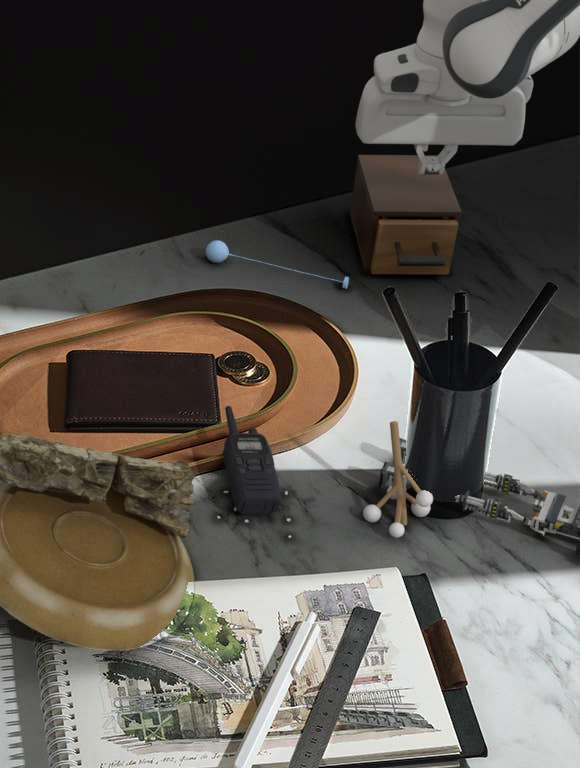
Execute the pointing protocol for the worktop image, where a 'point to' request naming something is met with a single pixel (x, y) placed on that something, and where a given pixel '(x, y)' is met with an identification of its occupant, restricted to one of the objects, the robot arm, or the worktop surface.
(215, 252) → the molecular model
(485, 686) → the worktop surface
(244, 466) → the two-way radio
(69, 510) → the plant saucer
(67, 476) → the fossil
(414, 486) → the cotton branch
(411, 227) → the drawer
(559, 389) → the worktop surface
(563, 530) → the toy
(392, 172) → the cabinet
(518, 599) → the worktop surface
